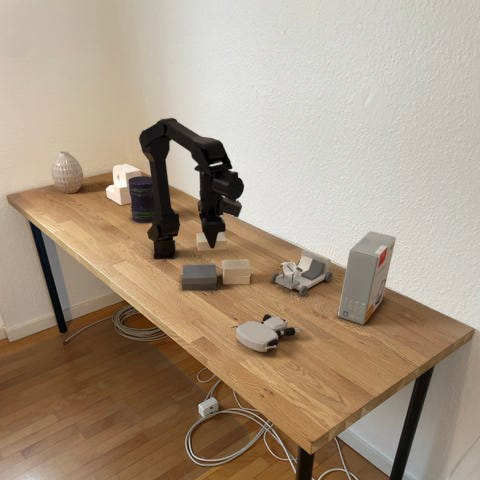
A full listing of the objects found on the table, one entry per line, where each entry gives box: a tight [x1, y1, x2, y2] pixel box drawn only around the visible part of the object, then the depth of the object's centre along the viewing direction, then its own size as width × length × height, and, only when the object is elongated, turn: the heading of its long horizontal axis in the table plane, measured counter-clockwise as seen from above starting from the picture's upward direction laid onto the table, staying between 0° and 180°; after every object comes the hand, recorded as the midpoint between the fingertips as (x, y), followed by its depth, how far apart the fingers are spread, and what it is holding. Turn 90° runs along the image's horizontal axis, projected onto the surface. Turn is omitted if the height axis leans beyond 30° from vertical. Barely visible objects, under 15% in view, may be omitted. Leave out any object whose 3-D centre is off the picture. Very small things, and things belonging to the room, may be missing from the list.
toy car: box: [270, 248, 333, 297], centre depth 142 cm, size 18×10×12 cm
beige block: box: [221, 258, 252, 285], centre depth 145 cm, size 8×6×5 cm
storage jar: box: [128, 175, 155, 224], centre depth 181 cm, size 10×10×15 cm
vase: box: [50, 150, 84, 194], centre depth 206 cm, size 13×13×17 cm
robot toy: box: [228, 313, 301, 353], centre depth 119 cm, size 12×4×15 cm
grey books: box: [181, 264, 218, 291], centre depth 143 cm, size 10×9×4 cm
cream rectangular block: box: [195, 232, 227, 251], centre depth 137 cm, size 8×6×3 cm
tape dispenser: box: [105, 163, 142, 206], centre depth 201 cm, size 16×10×13 cm, turn 41°
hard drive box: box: [337, 230, 397, 326], centre depth 128 cm, size 16×8×20 cm, turn 148°
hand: (211, 243), depth 138 cm, fingers closed on cream rectangular block, 6 cm apart
